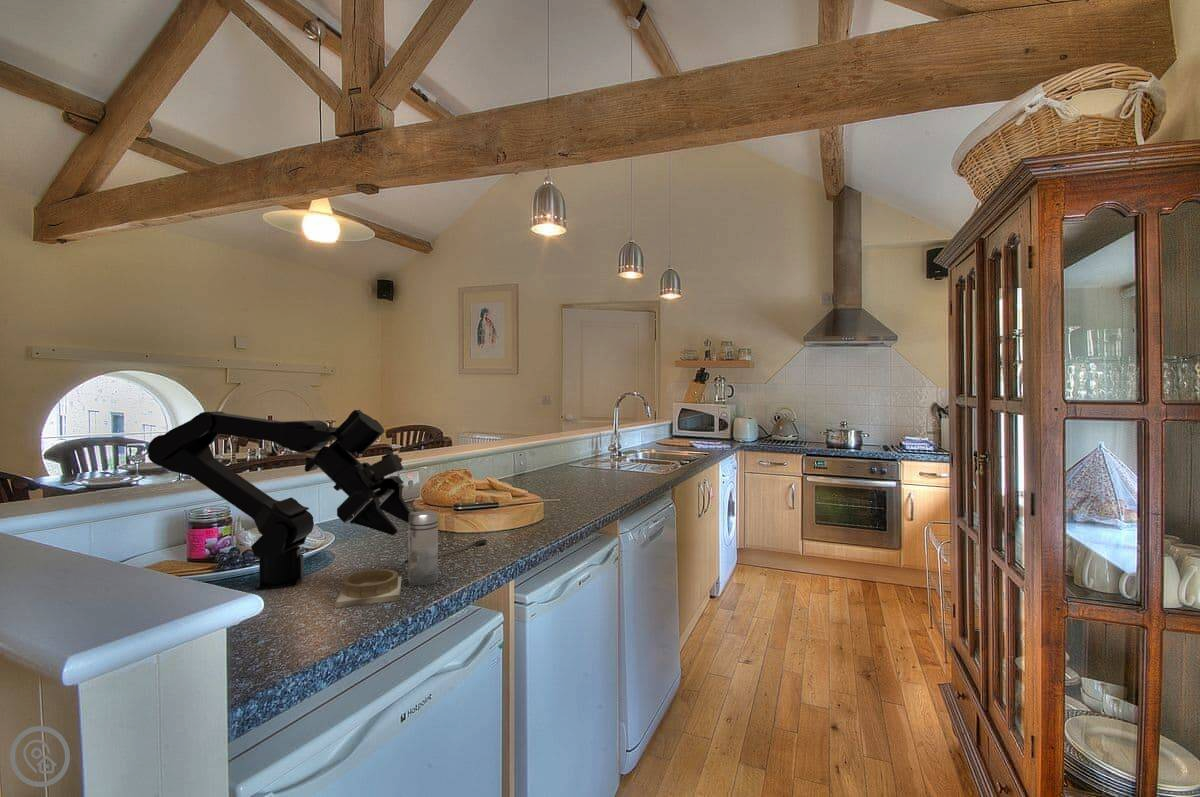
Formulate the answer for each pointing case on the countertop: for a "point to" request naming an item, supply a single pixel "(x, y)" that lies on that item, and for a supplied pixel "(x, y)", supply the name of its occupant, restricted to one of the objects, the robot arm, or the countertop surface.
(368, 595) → the ring collar
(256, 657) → the countertop surface
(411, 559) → the salt shaker
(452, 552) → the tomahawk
